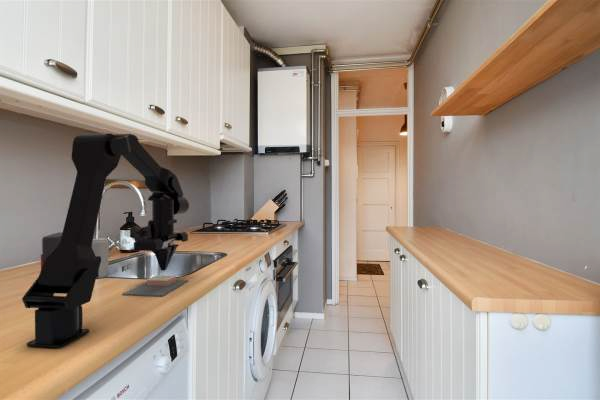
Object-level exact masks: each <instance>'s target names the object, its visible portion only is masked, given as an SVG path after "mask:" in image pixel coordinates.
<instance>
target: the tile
mask: <svg viewBox="0 0 600 400" xmlns="http://www.w3.org/2000/svg"><path fill="white" fill-rule="evenodd" d="M176 280H177V276H176V275H170V274H169V275H166V274H162V275H161V274H156V275H155V276H152V277H150V278H148V279H146V282H147V285H156V286H168V285H170V284H171V283H173V282H175V281H176Z"/></svg>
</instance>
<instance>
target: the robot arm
mask: <svg viewBox="0 0 600 400" xmlns="http://www.w3.org/2000/svg"><path fill="white" fill-rule="evenodd" d="M121 157H123V158H124V159H125V160H126V161H127V162H128V164H130V165H131V166H132V167H133V168H134V169H136V170H137V172H138V173H139V174H140V175H141V176H143V178H144V184H145V186H146V187H147V189H148V190H149V191H150V192H151V193H152V194H151V195H149V197H147V200H148V201H151V208H152V209H151V210H152V211H151V212H152V213H151V215H152V216H151V217H152V219H149V220H148V222H147V226H144V227H141V226H140V225H135V226H134V225H133V226H132V227H130V230H129V238H131V239H134V242H133V251H135V252H136V251H138V252H139V251H141V252H143V251H144V252H152V253H153V254H154V255H155V257H156V260H157V263H158V265H159V268H160V271H166V270H167V268H168V266H169V264H170V262H171V260H172V258H173V256H174V254H175V252H176V250H177V249H178V247H179V246H180V245H179V244H176V243H175V241H177V242H178V241H181V242H183V243H185V242H188V241H189V235H188V234H187V232H186V231H175V224H176V223H178V219H175V216H176V215H183V214H185V213H187V212H188V211H189V208H190V203H189V201H188V200H187V198H186V197H184V192H183V189H182V187H181V185H180V182H179V179H178V177H177V176H176V174H175V173H174V172H172V171H171V170H170V169H168V168H165V167H163V166H161V165H159V163H158V162H157V161H156V160H155V159H154V158H153V157H152V155H151V154H150V153H149V152H148V151H147V150H146V148H144V146H143V144H141V143H140V141H139V138H138V136H136V135H135V134H132V133H116V134H113V133H107V132H106V133H80V134H79V135H76V136H75V137H74V139H73V141H72V148H71V160H72V164H73V165H74V167H75V170H76V176H75V181H74V183H73V188H72V191H71V196H70V201H69V205H68V209H67V212H66V213H67V214H66V217H65V221H64V225H63V229H62V232H63V233H62V237H61V241H60V244H59V245H58V246H57V247H56V248H55V249H54V250H53V251H52V253H51V254H50V255H49V256H48V257H47V258H46V260H45V262H44V265H43V267H42V269H41V268H40V272H39V275H38V277H37V278H36V279H35V281H34V282H33V283H32V284H31V286H30V287H29V288H28V290H27V291H26V293H24V294H23V296H22V298H21V301H22V303H23V304H24V305H23V306H24V307H25V309H30V308H31V309H35V310H34V338H33V339H31V340H30V341H28V342H27V343H26V346H27V347H37V348H38V347H39V348H52V349H53V348H54V349H55V348H56V349H59V348H62V347H64V346H66V345H68V344H70V343H71V342H73V341H75V340H77V339H79V338H81V337H82V336H84V335H86V334H87V333H89V332H90V328H83V326H84V325H83V305H86V304H87V303H89V302H91V299H92V296H93V292H94V288H95V284H96V280H97V279H99V278H98V277H99V273H98V272H99V266H100V263H101V257H100V256H95V254H94V251H93V249H92V241H93V239H94V237H95V231H96V227H97V222H98V216H99V212H100V209H101V204H102V199H103V193H104V189H105V184H106V181H107V177H109V175H110V174H111V173H112V172H114V170H115V169H116V168H117V167H118V165H119V163H120V160H121ZM55 294H58V295H55ZM59 294H60V295H59ZM63 294H64V295H66V296H64V295H63Z"/></svg>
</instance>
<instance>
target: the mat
mask: <svg viewBox="0 0 600 400" xmlns="http://www.w3.org/2000/svg"><path fill="white" fill-rule="evenodd" d="M186 282H187V283H188V282H189V280H187V279H176V281H175V282H173V283H171V284H170V285H168V286H156V285H147V281H146V282H145V283H142V284H140V285H138V286H136V287H134V288H132V289H129V290H127V291H125V292H122V294H121V295H122V296H130V297H131V296H132V297H133V296H137V297H156V298H157V297H158V298H159V297H161V298H163V297H165V296H166V295H168V294H169V292H170V293H171V292H173V291H174V289H175V290H176V289H178V288H180V287H182V286H183V285H185V284H187V283H186ZM184 283H185V284H184ZM179 286H180V287H179Z"/></svg>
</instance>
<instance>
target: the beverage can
mask: <svg viewBox="0 0 600 400" xmlns="http://www.w3.org/2000/svg"><path fill="white" fill-rule="evenodd" d="M92 249H93V251H94V254H95V256H100V257H101V263H100V266H99V272H98V273H99V277H98V278H97V279H103V278H106V277H108V275H109V272H110V271H109V266H110V265H109V238H108V237H106V238H104V237H102V238H101V237H100V238H93V241H92Z"/></svg>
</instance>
